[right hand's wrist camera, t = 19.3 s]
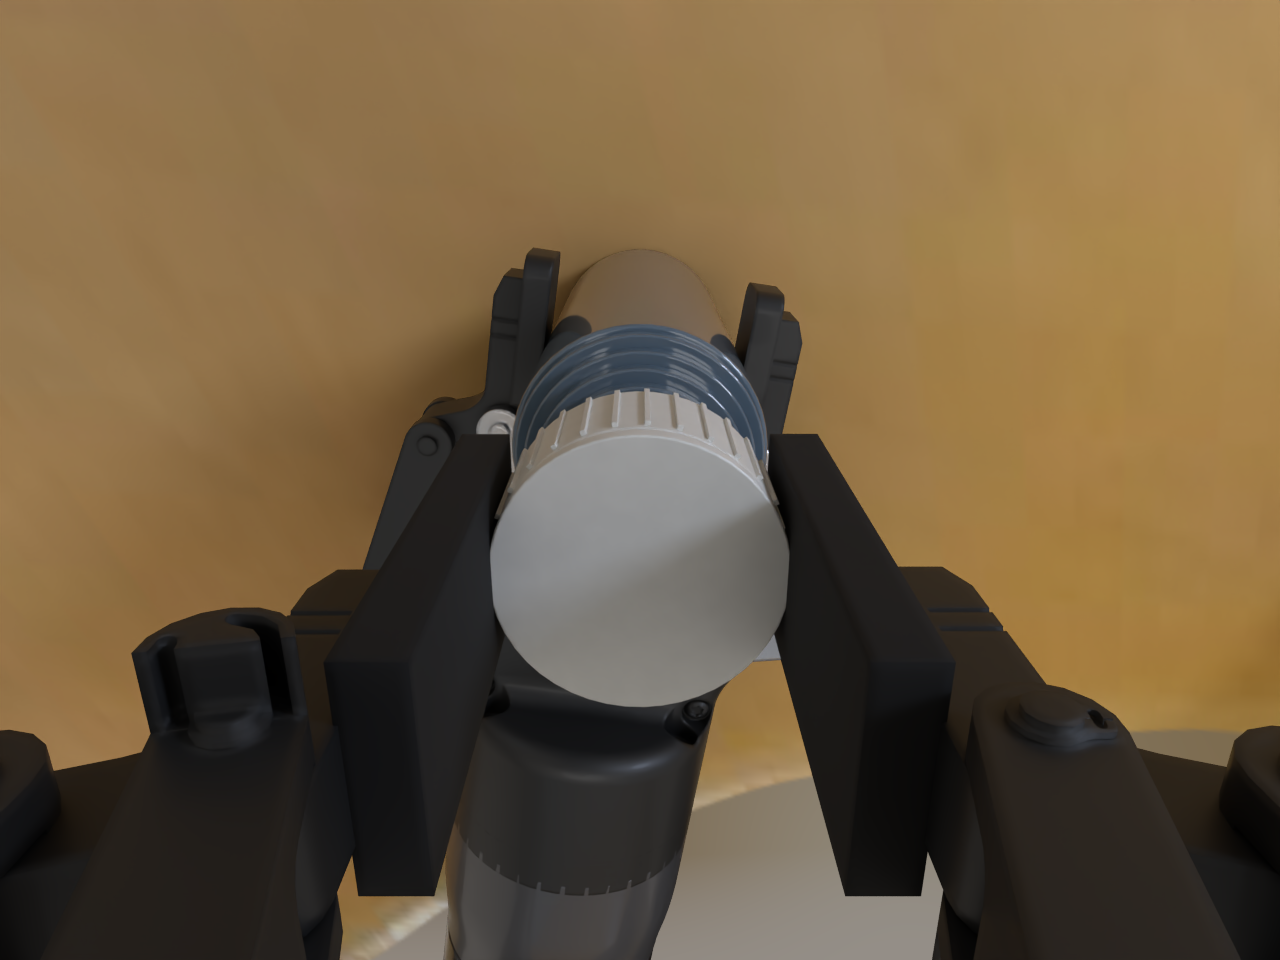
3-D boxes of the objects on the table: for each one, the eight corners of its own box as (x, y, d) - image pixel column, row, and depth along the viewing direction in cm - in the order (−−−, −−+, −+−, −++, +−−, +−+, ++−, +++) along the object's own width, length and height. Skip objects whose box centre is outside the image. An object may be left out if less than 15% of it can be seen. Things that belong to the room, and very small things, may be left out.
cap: (450, 497, 14) (417, 560, 12) (661, 328, 13) (664, 363, 11) (621, 675, 15) (618, 760, 13) (825, 532, 14) (858, 600, 12)
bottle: (685, 421, 30) (737, 742, 14) (544, 374, 29) (428, 652, 13) (739, 279, 28) (869, 460, 12) (590, 226, 27) (522, 343, 12)
